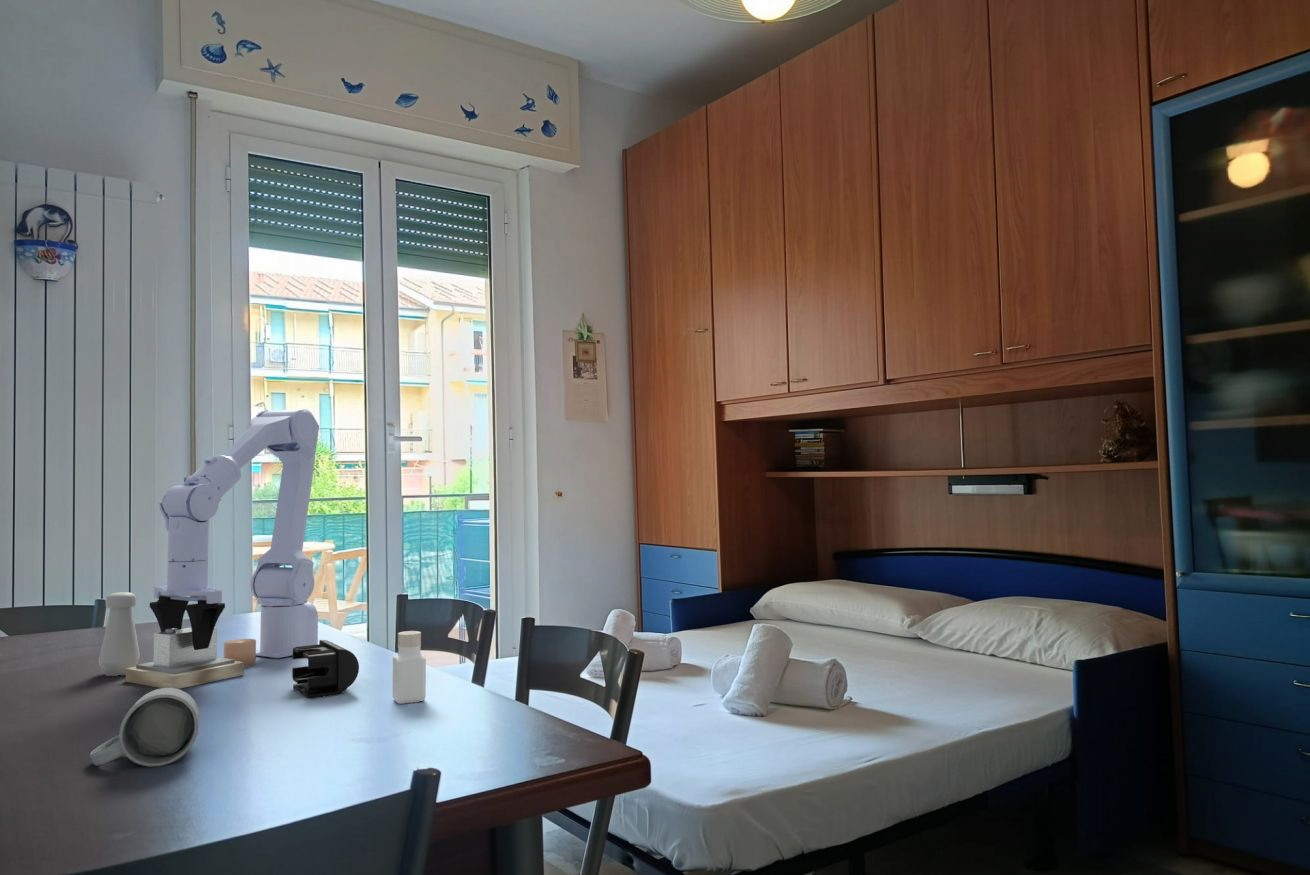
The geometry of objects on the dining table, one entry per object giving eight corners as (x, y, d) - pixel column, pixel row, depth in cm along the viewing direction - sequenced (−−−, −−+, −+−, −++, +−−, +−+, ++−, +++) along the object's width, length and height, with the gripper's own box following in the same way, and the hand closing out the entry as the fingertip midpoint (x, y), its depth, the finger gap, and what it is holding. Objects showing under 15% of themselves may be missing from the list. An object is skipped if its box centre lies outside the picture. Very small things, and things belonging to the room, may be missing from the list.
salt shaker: (125, 677, 144) (127, 595, 144) (89, 677, 144) (92, 595, 145) (146, 669, 150) (148, 590, 150) (112, 669, 150) (114, 590, 150)
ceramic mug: (199, 742, 107) (199, 677, 108) (198, 761, 100) (198, 691, 100) (95, 756, 103) (95, 688, 103) (85, 777, 95) (85, 704, 96)
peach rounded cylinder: (243, 661, 157) (243, 637, 157) (261, 663, 154) (262, 640, 155) (216, 666, 153) (217, 642, 153) (235, 669, 150) (236, 644, 150)
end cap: (359, 693, 133) (359, 646, 133) (309, 700, 128) (309, 652, 129) (339, 681, 141) (339, 637, 141) (291, 687, 137) (291, 642, 137)
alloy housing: (200, 656, 147) (201, 622, 148) (216, 659, 146) (217, 623, 146) (153, 665, 140) (154, 629, 141) (169, 668, 139) (170, 631, 139)
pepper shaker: (391, 699, 128) (392, 631, 129) (420, 696, 130) (420, 629, 131) (397, 705, 125) (398, 636, 125) (426, 702, 127) (427, 633, 127)
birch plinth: (197, 667, 151) (197, 652, 151) (243, 674, 145) (244, 659, 145) (125, 681, 141) (125, 665, 141) (172, 689, 135) (172, 673, 135)
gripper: (136, 560, 144) (134, 646, 143) (192, 564, 137) (190, 655, 136) (178, 557, 150) (176, 639, 149) (234, 560, 143) (233, 647, 142)
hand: (186, 646), depth 143 cm, fingers open, 7 cm apart
